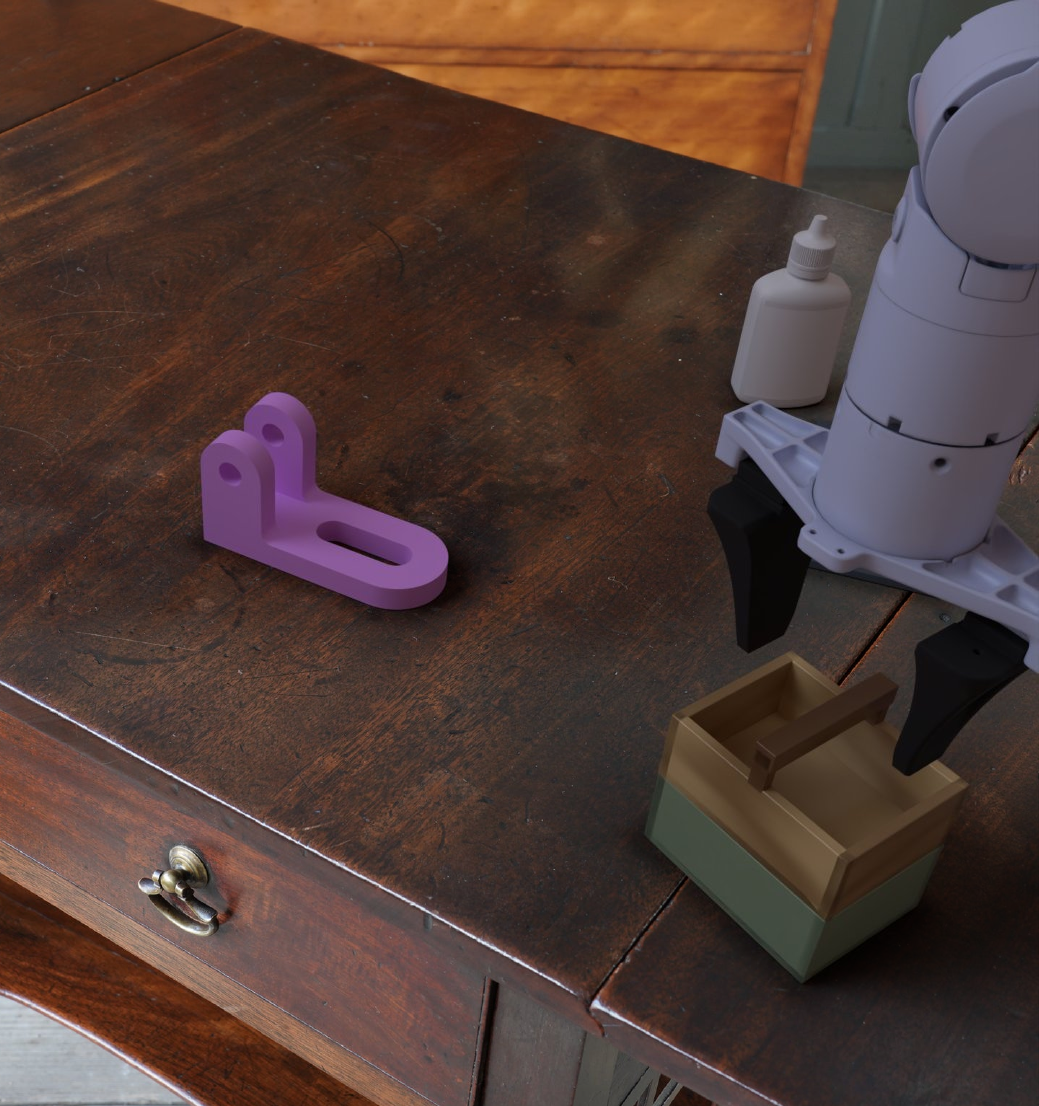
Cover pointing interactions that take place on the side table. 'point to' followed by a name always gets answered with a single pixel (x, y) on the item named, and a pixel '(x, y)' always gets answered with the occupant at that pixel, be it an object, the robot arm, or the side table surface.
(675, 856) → the box
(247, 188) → the side table surface
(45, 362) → the side table surface
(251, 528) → the bracket
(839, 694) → the top basket
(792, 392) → the eye dropper bottle
